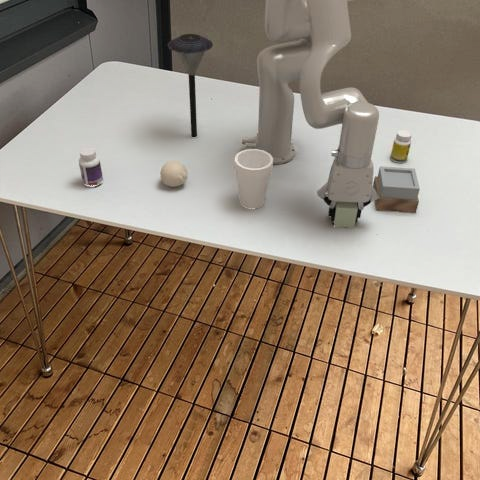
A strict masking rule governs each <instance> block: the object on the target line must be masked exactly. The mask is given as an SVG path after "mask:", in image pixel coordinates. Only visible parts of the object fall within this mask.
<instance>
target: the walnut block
mask: <svg viewBox="0 0 480 480" xmlns="http://www.w3.org/2000/svg"><path fill="white" fill-rule="evenodd" d="M377 177H378V175H377V176H376V175H375V176H374V177H373V184H372V186H373V188H374V189H375V190H376V192H377V193H378V196H379V198H378V199H377V200H375V201H374V205H375V211H379V212H380V211H382V212H397V213H412V214H413V213H414V214H416V213H417V210H418V206H419V203H420V200H419V199H420V198H419V196H418V197H417V200H407V199H393V198H381V197H380V191H379V184H378V178H377Z"/></svg>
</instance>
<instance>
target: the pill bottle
mask: <svg viewBox="0 0 480 480" xmlns="http://www.w3.org/2000/svg"><path fill="white" fill-rule="evenodd" d="M79 156H80V157H79V159H78V167H79V171H80V174H81V175H80V176H81V181H82V184H83V183H84V184H86V185H90V186H91V185H92V186H93V185H98V184H100V183H101V182H102V181H103V182H104V175H103V171H102V165H101V160H100V157H99V156H98V155H97V152H96V148H93V147H90V146H89V147H83V148H82V149H80V150H79ZM84 184H83V185H84Z"/></svg>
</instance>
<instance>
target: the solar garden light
mask: <svg viewBox="0 0 480 480" xmlns="http://www.w3.org/2000/svg"><path fill="white" fill-rule="evenodd" d="M213 46H214V43H213V41H212V40H210V39H209V38H206V37H204V36H202V35H200V34H196V33H184V34H181V35H179V36H177V37H176V38H173V39H172V40H169V42H168V43H167V47H168V49H169V50H171V51H172V52H174V53H175V52H176V53H177V55H178V57H179V59H180V61H181V63H182V65H183V67H184V68H185V70H186V73H187V74H188V89H189V94H188V95H189V113H190V114H189V115H190V117H189V118H190V132H191V133H190V135H191V136H192V137H196V136H197V137H198V129H197V128H198V126H197V124H198V123H197V122H198V121H197V102H196V101H197V99H196V97H197V96H196V73H197V70H198V68H199V65H200V63H201V61H202V58H203V56H204V55H205V52H208V51H209V50H211V49H213ZM192 137H191V138H192ZM197 137H196V138H197Z"/></svg>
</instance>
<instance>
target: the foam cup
mask: <svg viewBox="0 0 480 480" xmlns="http://www.w3.org/2000/svg"><path fill="white" fill-rule="evenodd" d="M234 157H235V158H234V167H233V168H234V170H235V175H236V183H237V189H238V197H239V203H240V202H241V203H240V205H241V204H242V205H243V206H245V207H247V208H246V209H248V208H251V209H250V210H253V209H252V208H258V209H260V208H262V207H263V206H264V205H265V201H266V196H267V192H268V188H269V183H270V178H271V174H272V172H273V168H274V167H273V165H274V164H273V157H272V156H271V155H270V154H269V153H267V152H266V151H264V150H259V149H252V148H247V149H244V150H241V151H239V152H238V153H237V154H236V155H235V156H234ZM242 205H241V206H242ZM243 206H242V207H243ZM245 207H244V208H245ZM259 207H260V208H259Z"/></svg>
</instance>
